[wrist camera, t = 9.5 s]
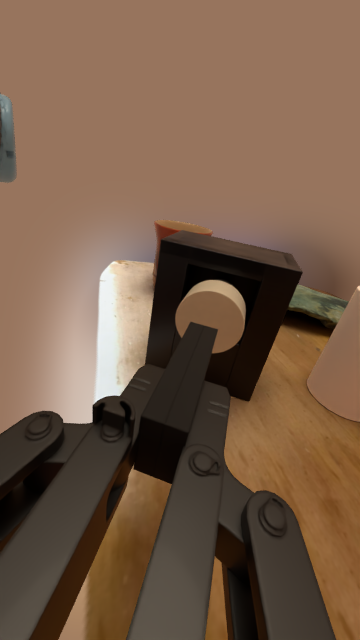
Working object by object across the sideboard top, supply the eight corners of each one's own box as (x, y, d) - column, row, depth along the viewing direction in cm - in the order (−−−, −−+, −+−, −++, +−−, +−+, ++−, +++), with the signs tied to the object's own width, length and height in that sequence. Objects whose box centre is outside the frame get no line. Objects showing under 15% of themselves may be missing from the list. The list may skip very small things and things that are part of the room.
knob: (170, 342, 18) (181, 282, 16) (190, 308, 24) (200, 260, 21) (233, 361, 17) (253, 301, 15) (239, 321, 23) (254, 273, 21)
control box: (144, 367, 24) (160, 239, 18) (164, 337, 29) (182, 229, 23) (249, 401, 22) (303, 271, 16) (250, 362, 27) (292, 254, 22)
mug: (207, 301, 40) (223, 235, 35) (155, 301, 37) (164, 229, 32) (181, 274, 50) (191, 220, 45) (138, 273, 46) (143, 214, 42)
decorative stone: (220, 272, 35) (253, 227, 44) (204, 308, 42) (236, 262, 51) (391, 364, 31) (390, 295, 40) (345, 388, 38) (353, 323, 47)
